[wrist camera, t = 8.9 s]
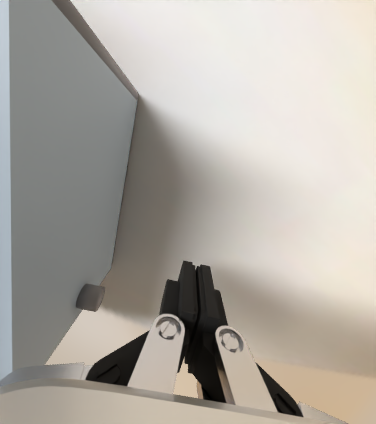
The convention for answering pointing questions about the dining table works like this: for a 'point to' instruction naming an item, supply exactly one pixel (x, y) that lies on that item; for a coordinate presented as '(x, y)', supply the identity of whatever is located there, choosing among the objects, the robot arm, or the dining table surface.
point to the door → (56, 173)
